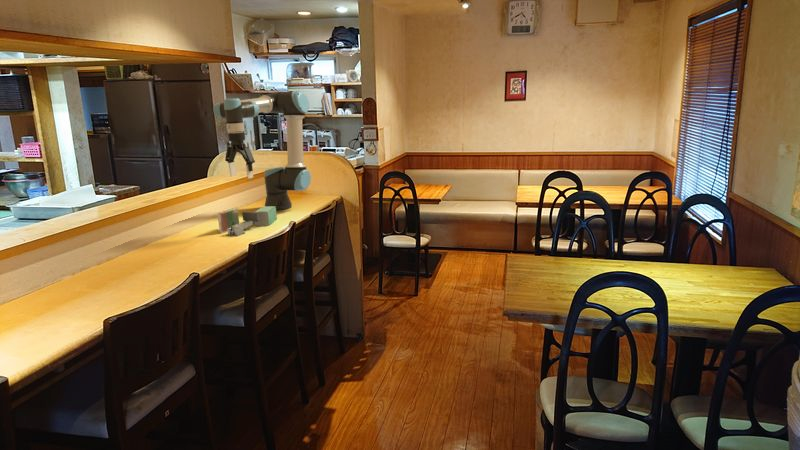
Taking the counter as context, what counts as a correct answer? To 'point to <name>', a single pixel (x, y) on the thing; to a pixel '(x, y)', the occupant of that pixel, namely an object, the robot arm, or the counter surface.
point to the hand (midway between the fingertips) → (241, 177)
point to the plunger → (247, 219)
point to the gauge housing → (229, 222)
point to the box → (266, 215)
